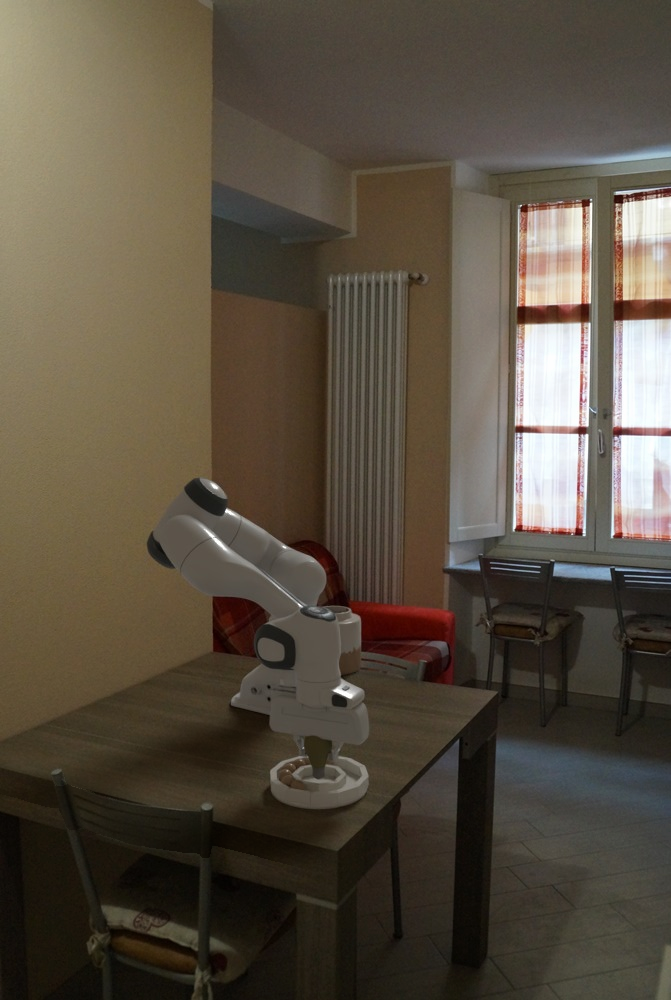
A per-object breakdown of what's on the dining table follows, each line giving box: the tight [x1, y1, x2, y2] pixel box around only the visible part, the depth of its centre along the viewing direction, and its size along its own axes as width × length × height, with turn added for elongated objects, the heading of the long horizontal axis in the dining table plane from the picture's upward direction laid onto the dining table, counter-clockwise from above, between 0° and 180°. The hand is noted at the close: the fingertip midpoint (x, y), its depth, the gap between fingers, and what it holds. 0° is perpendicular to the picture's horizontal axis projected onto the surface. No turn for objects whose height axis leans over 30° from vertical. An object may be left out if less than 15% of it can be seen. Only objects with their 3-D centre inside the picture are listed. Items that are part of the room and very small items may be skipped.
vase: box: [323, 605, 362, 676], centre depth 264 cm, size 15×15×17 cm
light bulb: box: [303, 736, 333, 780], centre depth 184 cm, size 6×6×10 cm
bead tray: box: [269, 755, 370, 810], centre depth 185 cm, size 19×19×4 cm
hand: (318, 758), depth 184 cm, fingers open, 5 cm apart
